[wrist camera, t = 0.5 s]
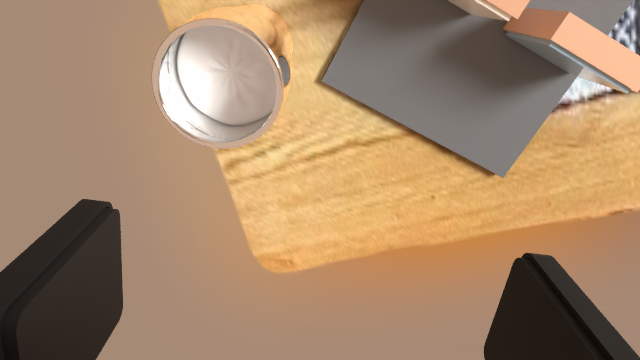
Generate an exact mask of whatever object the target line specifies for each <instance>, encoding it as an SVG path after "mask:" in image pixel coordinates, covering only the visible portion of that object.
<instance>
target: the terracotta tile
mask: <svg viewBox="0 0 640 360" xmlns="http://www.w3.org/2000/svg"><path fill="white" fill-rule="evenodd" d="M448 1H449V2H451V3H453V4H454V5H456V6H458V7H459V8H461V9H463V10H464V11H466V12H468V13H469V14H471V15H475V16H481V17H487V18H493V19H499V20H504V21H509V20H510V19H511V18H512V19H518V18H519V17H520V15H521V13H522V12H523V10H524V9H525V7H526V6H527V4H528V3H529V1H530V0H448Z"/></svg>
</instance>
